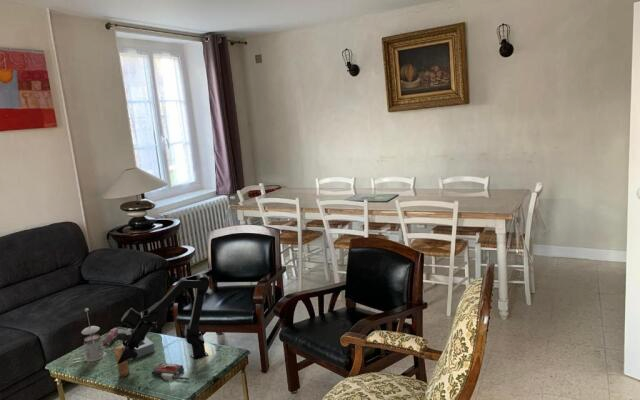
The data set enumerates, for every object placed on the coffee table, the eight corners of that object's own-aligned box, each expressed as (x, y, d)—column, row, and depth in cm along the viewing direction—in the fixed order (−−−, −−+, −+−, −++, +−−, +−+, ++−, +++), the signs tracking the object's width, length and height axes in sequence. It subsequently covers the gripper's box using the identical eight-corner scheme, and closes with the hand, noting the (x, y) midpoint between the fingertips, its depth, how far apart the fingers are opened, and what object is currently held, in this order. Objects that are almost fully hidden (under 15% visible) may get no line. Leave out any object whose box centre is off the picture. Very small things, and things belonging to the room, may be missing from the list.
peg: (131, 373, 213) (126, 347, 211) (120, 377, 210) (115, 351, 208) (127, 370, 216) (123, 344, 214) (117, 374, 214) (113, 348, 212)
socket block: (154, 351, 233) (153, 343, 233) (129, 360, 226) (128, 352, 225) (146, 343, 243) (144, 335, 242) (121, 352, 235) (120, 344, 235)
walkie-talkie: (148, 378, 209) (187, 383, 202) (147, 369, 208) (186, 373, 202) (161, 368, 217) (199, 372, 211) (159, 359, 216) (197, 363, 210)
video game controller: (110, 347, 246) (113, 335, 245) (101, 344, 246) (105, 332, 244) (118, 338, 256) (121, 326, 254) (109, 335, 255) (113, 323, 254)
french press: (84, 363, 227) (74, 314, 223) (85, 353, 238) (75, 306, 233) (106, 357, 231) (97, 309, 227) (106, 347, 242) (97, 301, 237)
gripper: (125, 315, 219) (103, 343, 217) (124, 331, 202) (100, 362, 200) (146, 327, 223) (125, 355, 222) (147, 343, 206) (124, 374, 204)
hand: (118, 361), depth 212 cm, fingers closed on peg, 4 cm apart
